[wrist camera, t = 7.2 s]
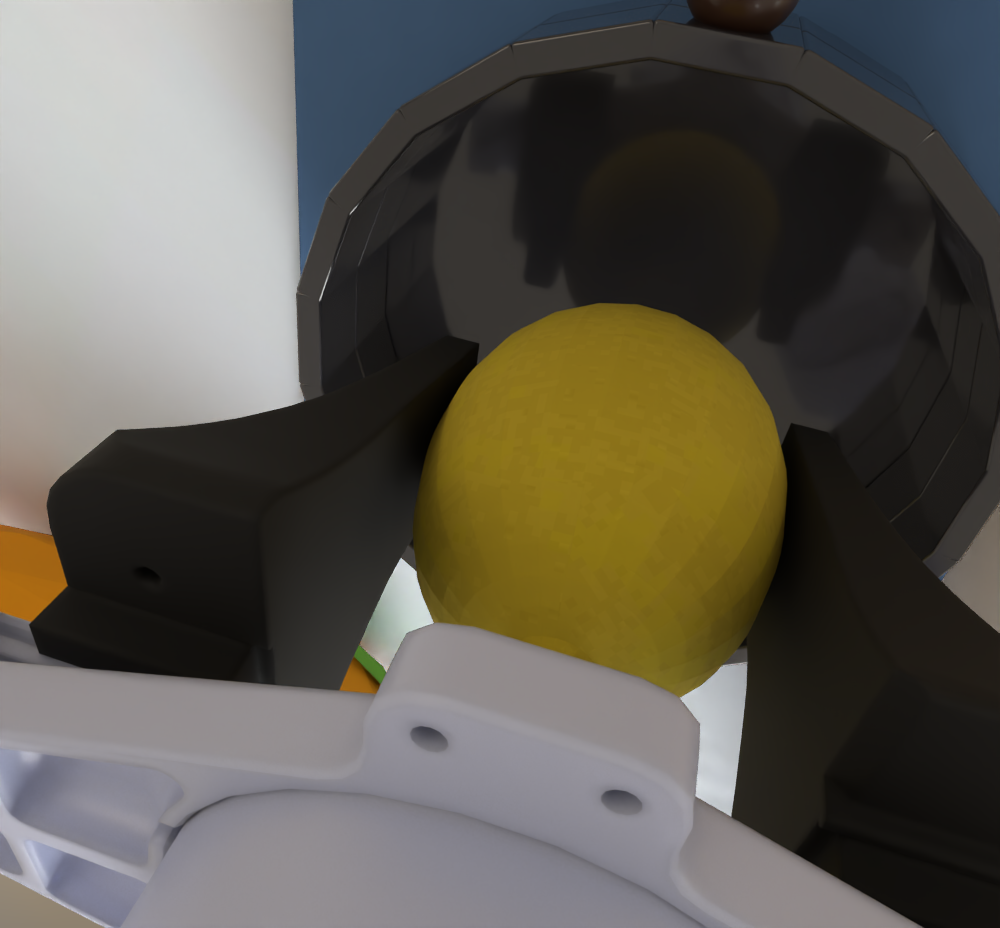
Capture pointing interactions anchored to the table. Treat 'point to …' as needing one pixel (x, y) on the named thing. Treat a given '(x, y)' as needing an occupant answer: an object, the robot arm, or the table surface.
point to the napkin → (525, 3)
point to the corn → (40, 579)
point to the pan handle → (742, 13)
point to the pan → (692, 236)
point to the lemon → (606, 495)
